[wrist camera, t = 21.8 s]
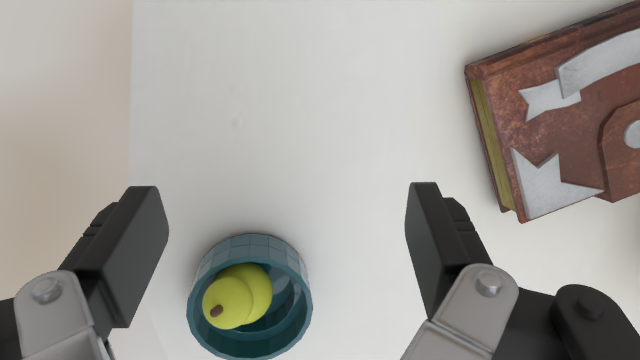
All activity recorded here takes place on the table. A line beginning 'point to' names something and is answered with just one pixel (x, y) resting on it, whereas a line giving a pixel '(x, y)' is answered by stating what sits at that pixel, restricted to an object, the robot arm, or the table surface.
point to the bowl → (280, 318)
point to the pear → (238, 296)
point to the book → (563, 115)
